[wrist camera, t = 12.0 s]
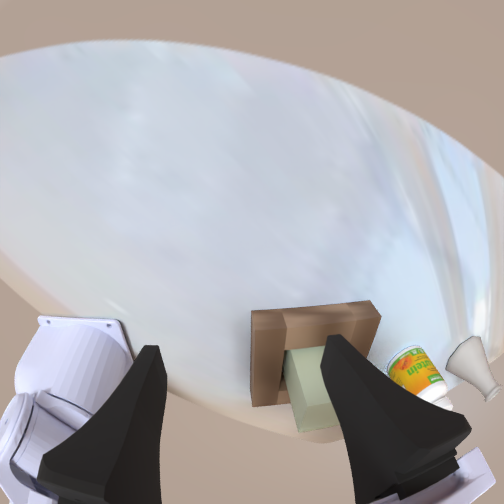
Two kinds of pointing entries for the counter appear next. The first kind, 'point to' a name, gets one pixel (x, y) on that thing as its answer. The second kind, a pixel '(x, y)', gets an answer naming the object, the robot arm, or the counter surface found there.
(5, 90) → the counter surface
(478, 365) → the flask
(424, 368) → the supplement bottle
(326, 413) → the peg
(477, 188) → the counter surface
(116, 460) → the robot arm
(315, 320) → the socket
